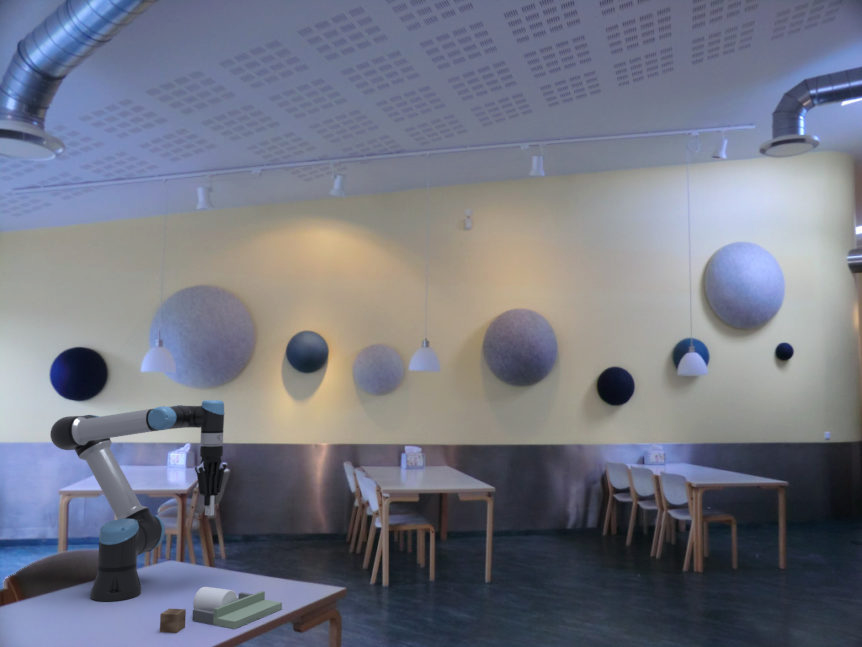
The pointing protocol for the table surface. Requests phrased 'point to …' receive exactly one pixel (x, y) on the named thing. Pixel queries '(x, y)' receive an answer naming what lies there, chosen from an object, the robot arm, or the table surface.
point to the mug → (213, 598)
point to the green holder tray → (238, 611)
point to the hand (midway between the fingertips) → (209, 514)
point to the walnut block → (172, 620)
